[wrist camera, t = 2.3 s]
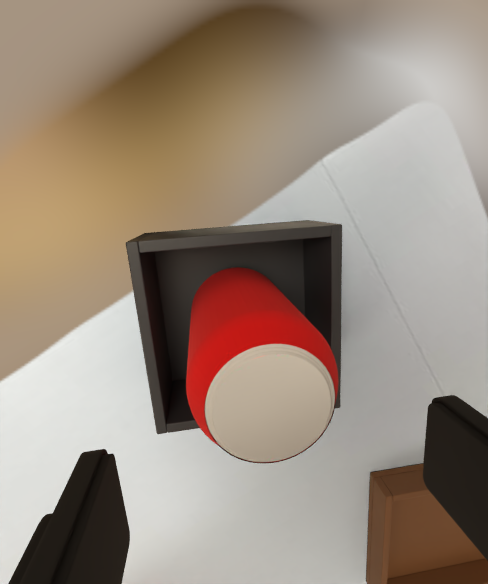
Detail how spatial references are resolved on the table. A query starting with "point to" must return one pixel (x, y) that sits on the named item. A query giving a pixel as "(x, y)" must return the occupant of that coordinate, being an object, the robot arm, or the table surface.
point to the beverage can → (257, 369)
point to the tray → (416, 535)
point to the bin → (209, 260)
